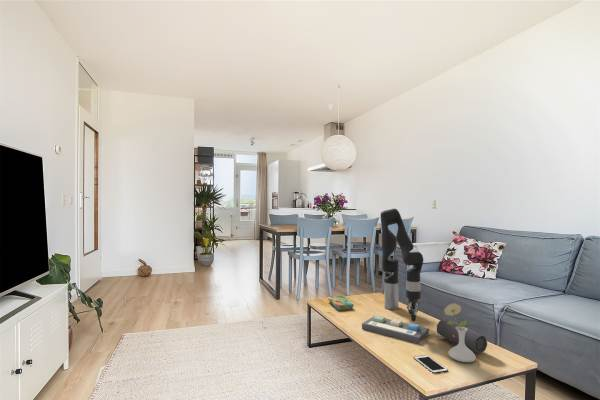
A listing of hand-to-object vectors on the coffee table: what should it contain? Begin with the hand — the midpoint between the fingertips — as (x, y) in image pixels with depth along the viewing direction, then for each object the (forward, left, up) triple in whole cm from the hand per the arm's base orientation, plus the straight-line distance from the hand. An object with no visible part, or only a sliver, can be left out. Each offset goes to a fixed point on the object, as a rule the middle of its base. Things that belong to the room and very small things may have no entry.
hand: (413, 321), depth 175 cm
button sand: (0, -10, -6) cm, 12 cm away
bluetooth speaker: (0, +23, -8) cm, 24 cm away
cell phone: (+28, +17, -8) cm, 34 cm away
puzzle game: (-18, -58, -8) cm, 61 cm away
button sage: (0, -20, -6) cm, 21 cm away
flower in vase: (+14, +26, -8) cm, 30 cm away
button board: (+2, -10, -7) cm, 13 cm away
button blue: (0, 0, -6) cm, 6 cm away
